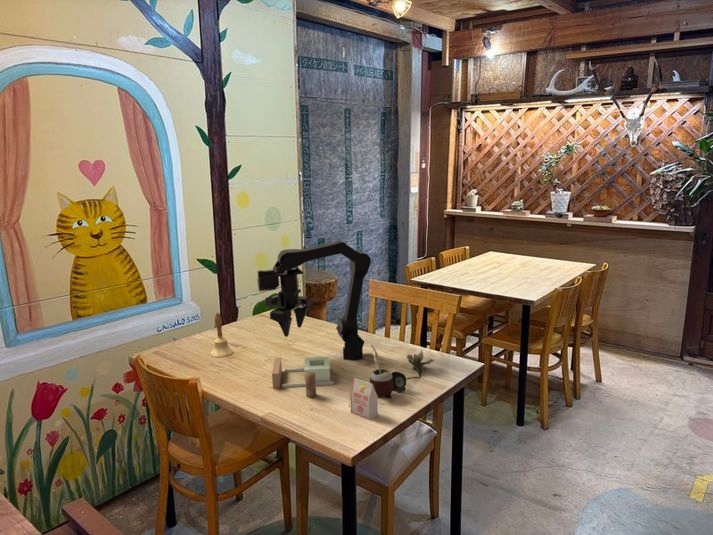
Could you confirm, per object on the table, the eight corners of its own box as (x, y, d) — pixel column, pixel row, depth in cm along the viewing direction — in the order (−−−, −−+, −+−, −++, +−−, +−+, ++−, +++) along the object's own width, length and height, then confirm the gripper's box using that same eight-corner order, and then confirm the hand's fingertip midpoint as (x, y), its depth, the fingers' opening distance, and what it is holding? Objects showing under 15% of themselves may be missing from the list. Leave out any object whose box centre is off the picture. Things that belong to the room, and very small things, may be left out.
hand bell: (225, 358, 190) (221, 317, 186) (205, 356, 192) (201, 315, 189) (237, 350, 197) (233, 310, 194) (218, 348, 200) (214, 308, 197)
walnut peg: (316, 396, 158) (315, 372, 156) (316, 400, 155) (315, 376, 153) (306, 397, 158) (305, 372, 156) (306, 401, 155) (305, 376, 153)
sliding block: (329, 370, 174) (328, 356, 173) (330, 383, 164) (329, 368, 163) (305, 371, 174) (304, 357, 173) (305, 384, 164) (304, 369, 163)
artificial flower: (383, 393, 162) (377, 362, 162) (420, 376, 180) (415, 348, 180) (406, 393, 156) (401, 360, 157) (442, 375, 174) (437, 346, 175)
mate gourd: (389, 403, 152) (388, 355, 149) (364, 400, 155) (363, 353, 152) (396, 392, 159) (396, 346, 156) (372, 389, 162) (371, 344, 159)
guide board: (335, 371, 176) (334, 354, 175) (336, 387, 163) (336, 370, 162) (276, 374, 175) (275, 357, 173) (273, 391, 162) (272, 373, 161)
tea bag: (359, 407, 150) (358, 375, 148) (377, 414, 146) (376, 381, 144) (350, 412, 148) (349, 380, 145) (369, 419, 143) (368, 386, 141)
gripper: (282, 279, 184) (285, 321, 188) (253, 293, 167) (258, 339, 171) (310, 281, 180) (313, 323, 184) (283, 295, 163) (287, 342, 167)
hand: (293, 331), depth 176 cm, fingers open, 9 cm apart
